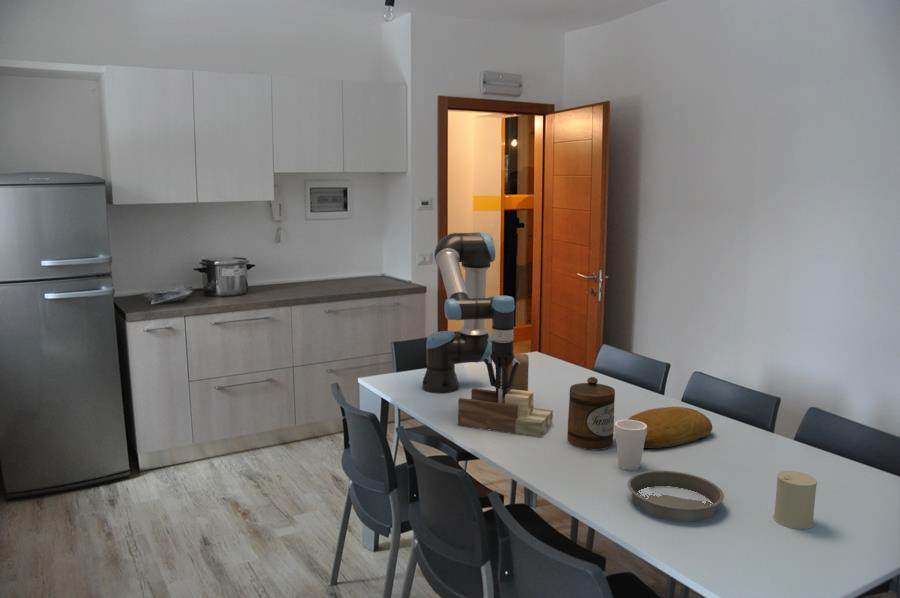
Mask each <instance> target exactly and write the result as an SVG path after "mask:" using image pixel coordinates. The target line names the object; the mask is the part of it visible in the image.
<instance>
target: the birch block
mask: <svg viewBox="0 0 900 598" xmlns="http://www.w3.org/2000/svg"><path fill="white" fill-rule="evenodd" d="M505 404H512V405H518V415H517V417H525V418H527V417H528V416H529V415H530V414H531V413H532V412H533V408H534V391H529V390H528V391H522V390H514V389H511V390H510V391H509V392H508V393H507V394H506V395H505Z"/></svg>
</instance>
